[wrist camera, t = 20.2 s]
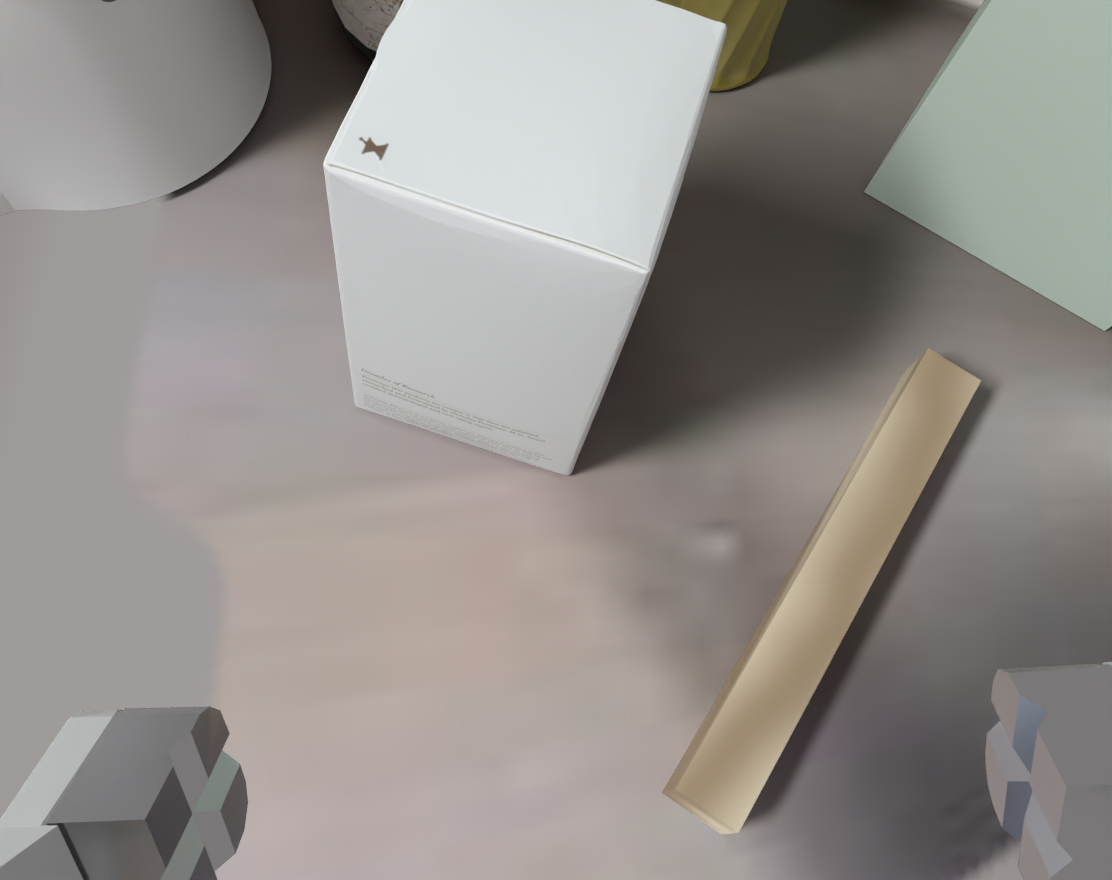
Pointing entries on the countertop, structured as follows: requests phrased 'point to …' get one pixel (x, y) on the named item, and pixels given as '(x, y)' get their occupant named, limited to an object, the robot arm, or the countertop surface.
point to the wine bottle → (366, 21)
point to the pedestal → (1019, 150)
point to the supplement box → (510, 208)
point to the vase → (739, 35)
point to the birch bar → (819, 598)
